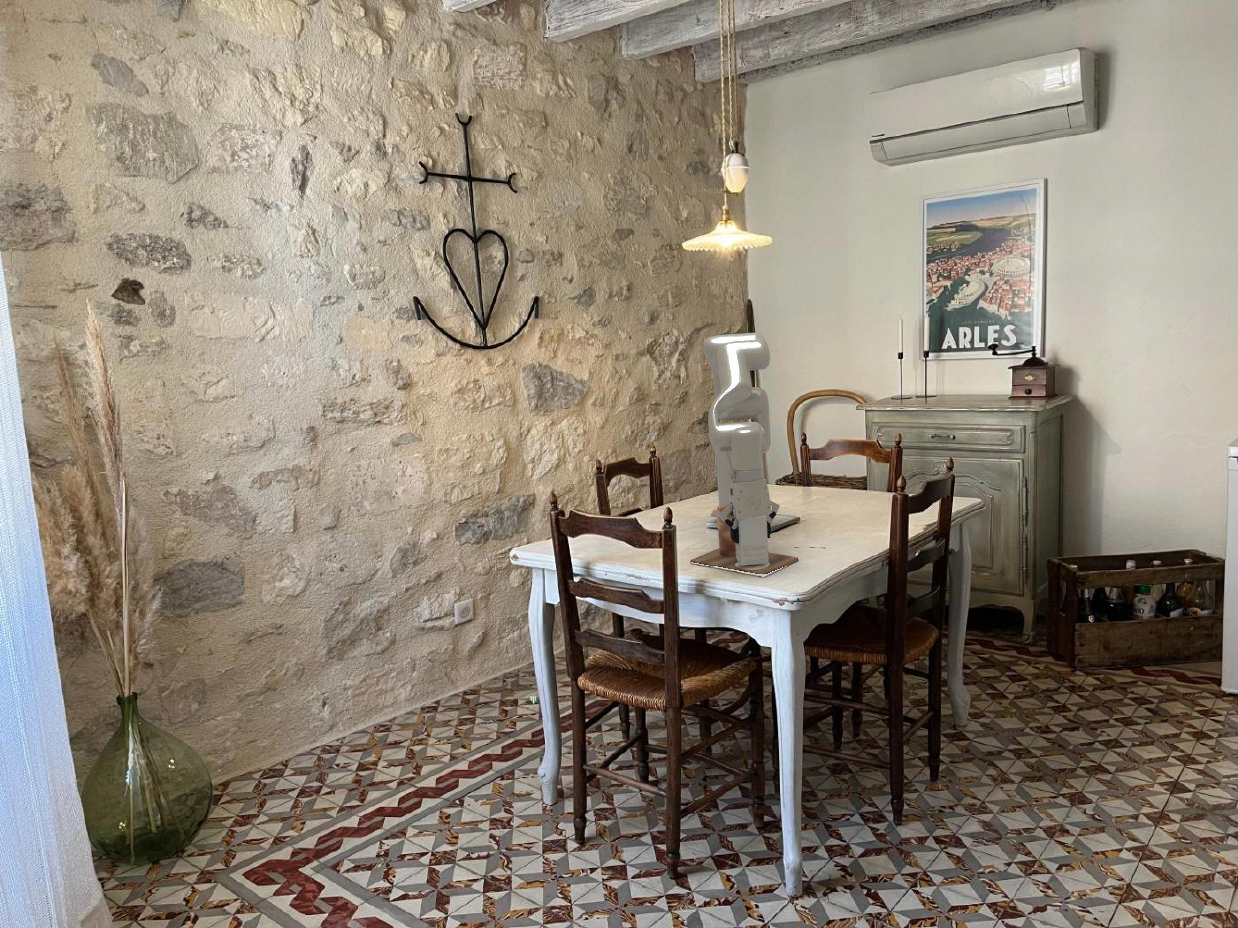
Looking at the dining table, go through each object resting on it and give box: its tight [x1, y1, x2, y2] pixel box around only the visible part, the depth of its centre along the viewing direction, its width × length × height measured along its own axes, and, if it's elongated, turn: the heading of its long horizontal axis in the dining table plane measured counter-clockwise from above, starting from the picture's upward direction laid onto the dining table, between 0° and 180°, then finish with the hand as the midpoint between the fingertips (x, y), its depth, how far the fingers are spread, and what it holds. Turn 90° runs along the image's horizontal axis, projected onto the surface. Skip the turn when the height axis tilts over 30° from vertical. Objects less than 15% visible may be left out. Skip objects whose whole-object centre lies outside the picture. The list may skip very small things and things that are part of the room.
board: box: [690, 504, 799, 574], centre depth 252 cm, size 24×16×14 cm, turn 47°
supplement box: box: [736, 515, 769, 566], centre depth 246 cm, size 7×7×13 cm
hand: (751, 539), depth 246 cm, fingers closed on supplement box, 8 cm apart
